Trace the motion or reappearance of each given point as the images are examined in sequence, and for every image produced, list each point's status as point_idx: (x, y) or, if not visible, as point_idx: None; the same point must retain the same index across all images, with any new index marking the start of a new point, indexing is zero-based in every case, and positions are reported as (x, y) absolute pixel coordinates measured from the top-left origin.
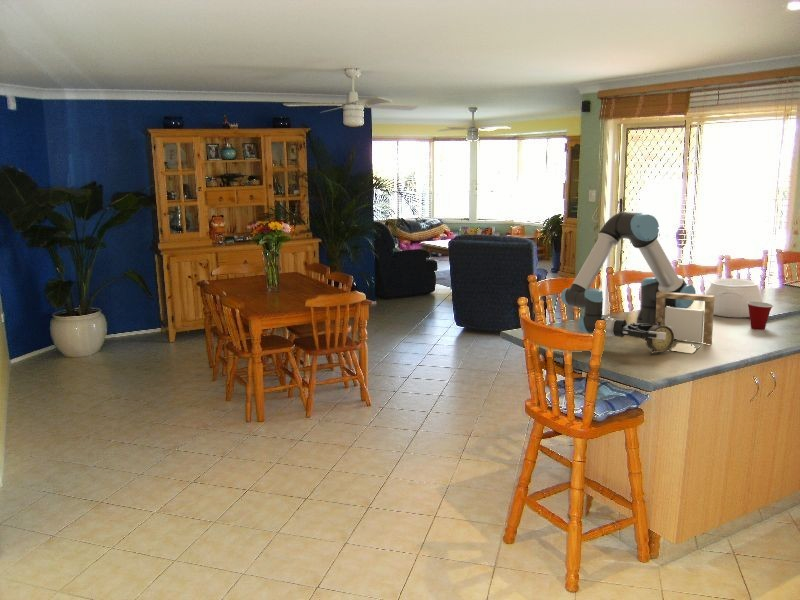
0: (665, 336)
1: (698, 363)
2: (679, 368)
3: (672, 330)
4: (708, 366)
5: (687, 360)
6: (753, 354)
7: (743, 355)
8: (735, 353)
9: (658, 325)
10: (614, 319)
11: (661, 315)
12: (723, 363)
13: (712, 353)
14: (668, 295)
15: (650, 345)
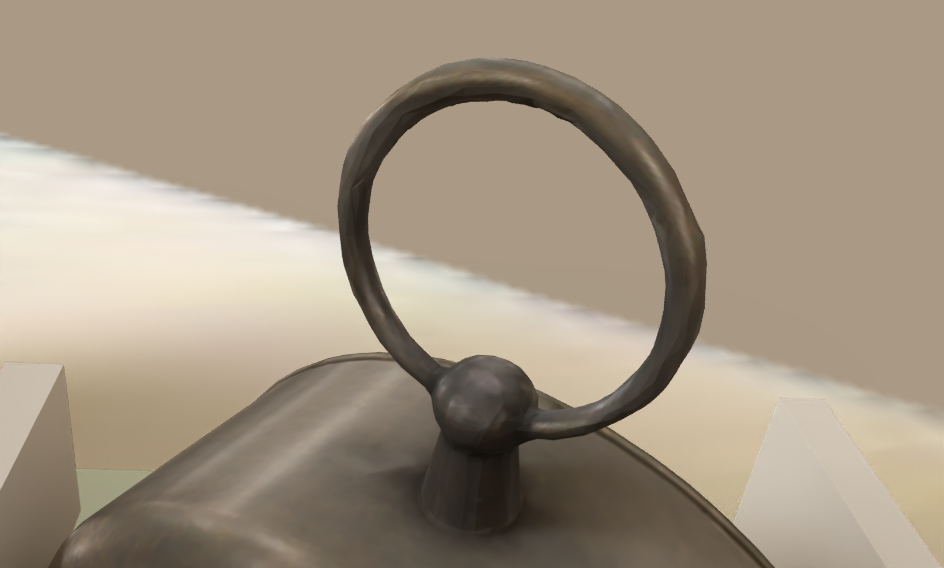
0: (767, 470)
1: None
2: (935, 511)
3: (70, 441)
4: (627, 341)
5: None
6: (23, 166)
7: (82, 201)
8: (16, 233)
9: (528, 517)
10: None
11: (454, 77)
12: (443, 277)
13: (72, 352)
14: None
15: None
